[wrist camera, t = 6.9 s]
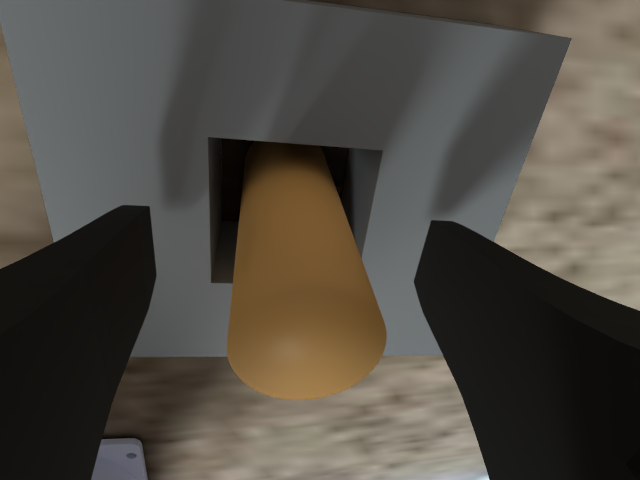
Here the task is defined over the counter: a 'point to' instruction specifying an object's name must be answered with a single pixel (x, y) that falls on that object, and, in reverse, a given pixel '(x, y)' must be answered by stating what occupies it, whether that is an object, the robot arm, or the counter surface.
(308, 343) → the peg
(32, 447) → the robot arm
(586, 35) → the counter surface
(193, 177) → the socket block
